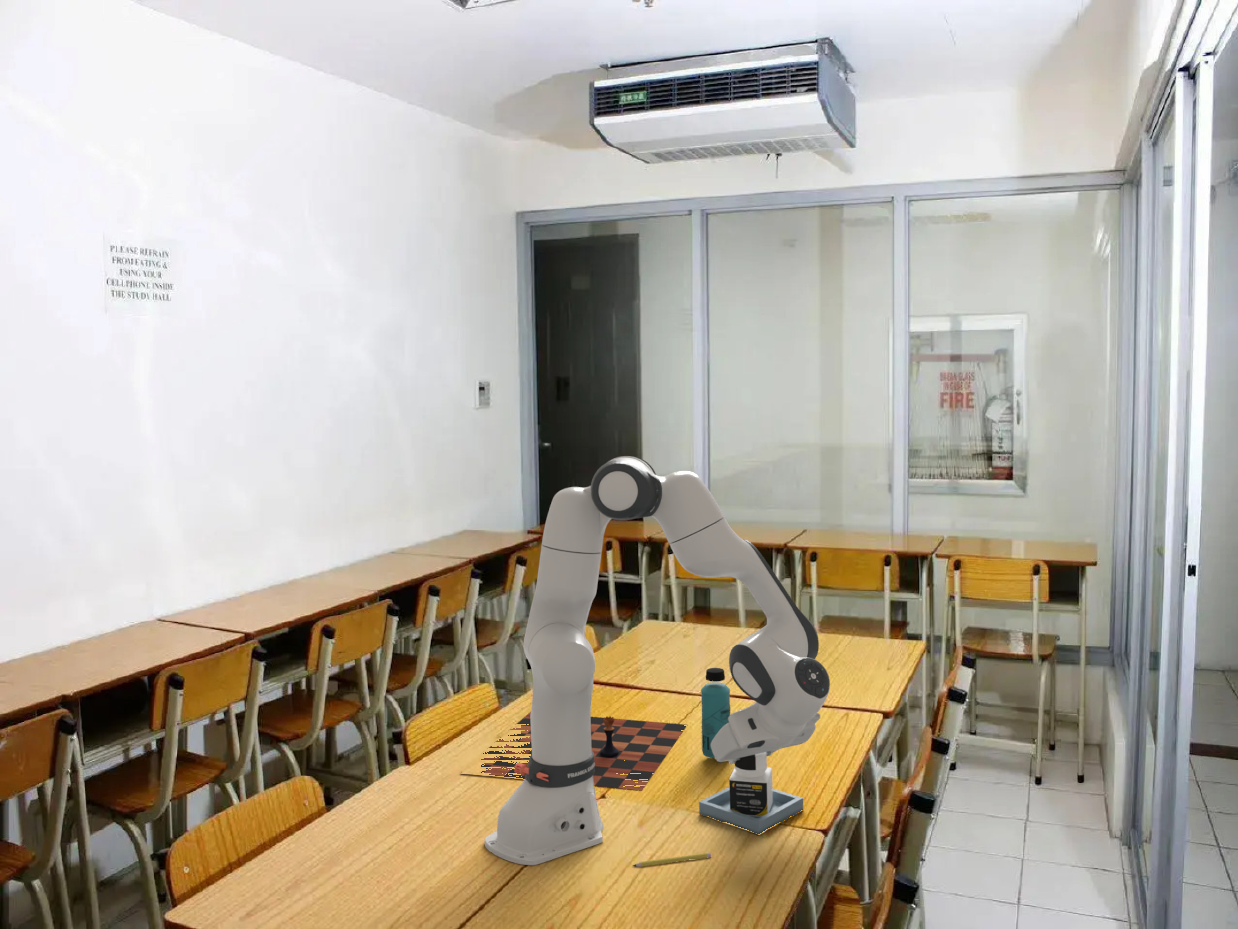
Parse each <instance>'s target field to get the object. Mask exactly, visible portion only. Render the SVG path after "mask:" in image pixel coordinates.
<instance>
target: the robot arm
mask: <svg viewBox="0 0 1238 929" xmlns="http://www.w3.org/2000/svg"><path fill="white" fill-rule="evenodd" d="M648 517H652V518H653V519H654V520H656V522H657V523H658V525H659V526H660V528H661V530H662V531H663V534H664V535H665V538H666V540H667V542H668V544H669V547H670V549H671V550H672V553H673V554H674V556H675V558H676V560H677V562H678V563H679V564H680V566H681V567H682V568H683V569H684V570H685V571H687V572H688V573H689V574H693V575H694V576H696V577H701V578H711V579H712V578H721V577H722V578H724V577H726V578H733V579H737V580H739V582H741V583H743V584H744V585H745V587H746V588H747V590H748V591H749V593H750V594H751V596H752V597H753V599H754V600H755V602H756V603H757V604H758V606H759V608H760V609H761V611H762V612H763V613H764V615H765V617H766V625H764V626H763V627H762V628H760V629H759V630H757V631H756V632H754V633H753V634H750V635H748V636H747V637H745V638H744V639H743V640H741V641H740V642H739V643H737V644H735V645H734V646H733V647H731V649H730V652H729V658H728V666H729V672H730V674H731V678H732V680H733V681H734V683H735V684H736V685H737V687H738V688H739V689H740V690H741V691H742V692H743V693H744V694H745V695H746V696H748V697H749V698H750V699H751V700H753V701H755V702H754V703H753V704H751V705H749V706H747V707H744V708H743V709H740V710H737V711H734V712H731V714H730V716H729V717H728V720H729V723H727V724H726V725H724V726H723V727H722V728H721V729H720V730H719V732H718V733H717V734H716V736H715V737H714V739H713V740H712V742H711V749H712V752H713V755H714V757H715V758H714V759H715V760H716V761H717V762H718V763H723V762H727V761H728V763H729V765H735V764H736V763H738V762H739V761H740V758H741V757H746V756H750V755H755V754H759V753H764V752H766V755H767V757H771V756H772V755H773V754H774V753H775V752H776V751H779V750H780V749H785V748H789V747H790V748H791V747H794V746H799V745H803V744H805V743H806V742H808V741H809V740H810V738H811V737H812V736H813V734H814V732H815V731H816V728H817V727H816V723H818V721H819V720H820V719H821V714H820V713H819V711H820V710H821V708H822V707H823V705H824V704H825V702H826V701H827V698H828V696H829V694H830V689H831V688H830V687H831V680H830V676H829V673H828V671H827V669H826V668H825V666H824V665H823V664H822V663H821V662H820V661H818V660H817V659H816V658H817V656H818V654H819V647H820V642H819V635H818V631H817V629H816V627H815V625H814V624H813V623H812V621H810V620H809V618H808V617H807V616H806V615H805V614H804V613H803V612H802V611H801V610H800V608H798V606H797V604H796V603H795V602H794V600H793V599H792V598H791V596H790V594H789V592H788V591H787V590H786V588H785V587H784V586H783V584H782V583H781V581H780V579H779V578H778V576H777V575H776V573H775V572H774V570H773V569H772V568H771V566H770V564H769V563H768V561H766V558H765V557H764V556H763V555H762V553H761V552H760V551H759V550H758V548H757V547H756V546H755V544H753V543H752V542H751V541H749V540H748V539H744V538H742V537H740V536H739V535H738V534H737V533H736V532H735V531H734V530H733V529H732V527H731V526H730V525H729V522H728V520H727V519H726V517H725V515H724V513H723V511H722V509H721V507H720V506H719V504H718V501H717V500H716V499H715V497H714V495H713V494H712V493H711V491H710V489H709V488H708V487H707V485H706V484H705V482H704V481H703V479H702V478H700V476H699V475H698V474H697V473H695V472H693V471H690V470H677V471H674V472H671V473H669V474H666V475H663V476H662V475H661V476H659V475H657V473H656V471H655V469H654V468H653V467H652V465H650V464H649V462H647V461H646V460H644V459H642V458H640V457H636V456H632V455H631V456H629V455H624V456H623V455H622V456H617V457H615V458H612V459H610V460H608V461H607V462H606V463H604V464H603V465H601V466H600V467H599V468H598V469H597V470H596V472H595V473H594V475H593V477H592V480H591V482H590V485H589V486H586V487H581V486H580V487H579V486H571V487H565V488H563V489H561V490H559V491H558V492H556V493H555V494H554V496H553V498H552V500H551V504H550V505H549V510H548V512H547V516H546V520H545V524H544V529H543V534H542V539H541V540H542V541H541V547H540V548H541V549H540V555H539V562H538V572H537V580H536V584H535V590H534V594H533V598H532V602H531V606H530V610H529V614H528V618H527V624H526V629H525V632H524V633H525V634H524V638H523V652H524V655H525V657H526V658H527V661H528V663H529V665H530V667H531V668H530V669H531V671H532V672H531V673H532V697H531V698H532V699H531V711H530V712H531V714H530V718H531V743H532V754H531V756H530V759H529V762H528V766H527V765H525V764H522V763H520V762H519V763H517V764H516V766H515V767H514V768H515V769H514V770H515V771H514V772H516V773H517V774H521V775H522V776H524V775H525V780H522V783H521V784H520V785H519V786H518V787H517V788H516V790H515V791H514V792H513V793H512V795H511V796H510V797H509V799H508V800H507V801H506V802H505V804H504V805H503V806H502V807H501V808H500V810H499V812H498V816H497V823H496V825H497V826H496V830H495V831H494V832H492V833H490V834H489V835H487V836H486V837H485V838H484V846H485V849H487V851H489V852H490V853H491V852H492V853H491V854H493V855H495V856H496V857H499V858H500V859H504V860H506V861H509V862H511V863H514V864H518V865H524V866H525V865H526V866H536V865H539V864H542V863H546V862H549V861H551V860H555V859H557V858H560V857H563V856H565V855H569V854H573V853H575V852H579V851H581V850H584V849H586V848H590V847H592V846H596V845H599V844H601V843H603V840H604V838H603V834H602V832H603V829H604V824H603V821H602V818H601V814H600V811H599V806H598V801H597V797H596V796H597V795H596V788H595V787H594V781H593V775H594V773H595V762H594V753H593V751H592V748H591V717H592V716H591V713H592V712H591V711H592V708H591V707H592V700H593V692H594V691H593V690H594V677H595V676H594V675H595V673H596V672H595V671H596V658H595V657H596V656H595V652H594V649H593V647H592V645H591V643H590V642H589V640H588V639H587V638H586V625H587V621H588V617H589V613H590V610H591V607H592V605H593V604H592V603H593V601H594V599H595V597H596V595H597V590H598V582H599V575H600V570H601V569H600V568H601V562H602V552H603V545H604V543H603V542H604V538H605V537H604V536H605V532H606V529H607V526H608V524H609V523H610V521H611V520H615V521H616V520H617V521H628V520H629V521H630V520H635V519H641V518H648Z"/></svg>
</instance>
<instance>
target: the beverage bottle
mask: <svg viewBox="0 0 1238 929" xmlns="http://www.w3.org/2000/svg"><path fill="white" fill-rule="evenodd" d="M725 675H726V674H725V670H724V668H720V667H709V668H706V671H705V680H706V681H708V683H706V684H705V685H704V686H703V687H701V690H700V693H701V694H700V695H701V734H700V738H701V739H700V740H701V742H700V743H701V752H702V755H703V756H705V757H706V758H711V759H715V757H714V755H713V752H712V749H711V742H712V740H713V739H714V737H715V736H716V734H717V733H718V732H719V730H720V729H721V728H722V727H723V726H724V725H726V724H727V723H729V720H728V717H729V716H730V715H731V714H732V712H731V706H732V705H731V702H730V701H731V699H730V698H731V695H730V693H731V690H730V687H728V685H727V684H725V683H723V682H722V681H725V680H726V676H725Z"/></svg>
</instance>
